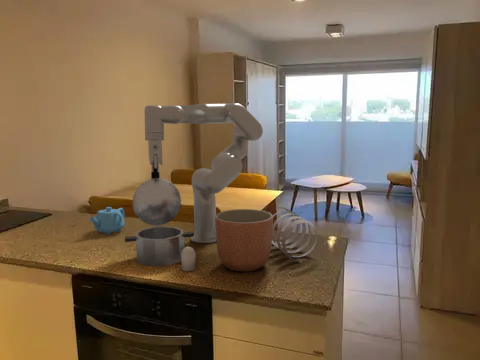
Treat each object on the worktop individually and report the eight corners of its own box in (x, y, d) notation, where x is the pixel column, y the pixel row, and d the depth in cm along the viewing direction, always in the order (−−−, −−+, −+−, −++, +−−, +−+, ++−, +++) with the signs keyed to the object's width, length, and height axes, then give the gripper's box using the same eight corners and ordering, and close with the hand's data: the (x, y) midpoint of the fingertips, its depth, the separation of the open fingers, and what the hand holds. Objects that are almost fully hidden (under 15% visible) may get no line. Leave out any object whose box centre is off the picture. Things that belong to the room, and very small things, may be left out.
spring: (263, 245, 186) (290, 269, 158) (254, 212, 182) (280, 231, 154) (295, 232, 189) (327, 254, 161) (287, 200, 186) (318, 216, 157)
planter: (255, 253, 170) (255, 206, 167) (283, 270, 151) (284, 218, 148) (207, 261, 160) (206, 212, 157) (231, 281, 142) (230, 225, 139)
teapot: (112, 224, 213) (111, 201, 211) (137, 229, 205) (135, 205, 203) (79, 234, 196) (77, 209, 194) (104, 240, 188) (103, 214, 186)
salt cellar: (194, 265, 157) (194, 244, 155) (196, 270, 152) (196, 248, 151) (180, 266, 155) (180, 245, 154) (182, 271, 151) (182, 249, 149)
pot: (190, 246, 178) (189, 223, 177) (197, 262, 159) (196, 236, 158) (126, 251, 172) (124, 227, 170) (125, 269, 153) (124, 242, 151)
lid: (181, 223, 175) (180, 222, 177) (180, 177, 172) (179, 176, 175) (133, 227, 170) (133, 225, 172) (131, 179, 167) (131, 178, 170)
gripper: (165, 137, 163) (166, 184, 166) (163, 135, 178) (163, 179, 180) (145, 137, 162) (146, 185, 164) (144, 135, 176) (145, 179, 179)
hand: (155, 181), depth 172 cm, fingers closed
